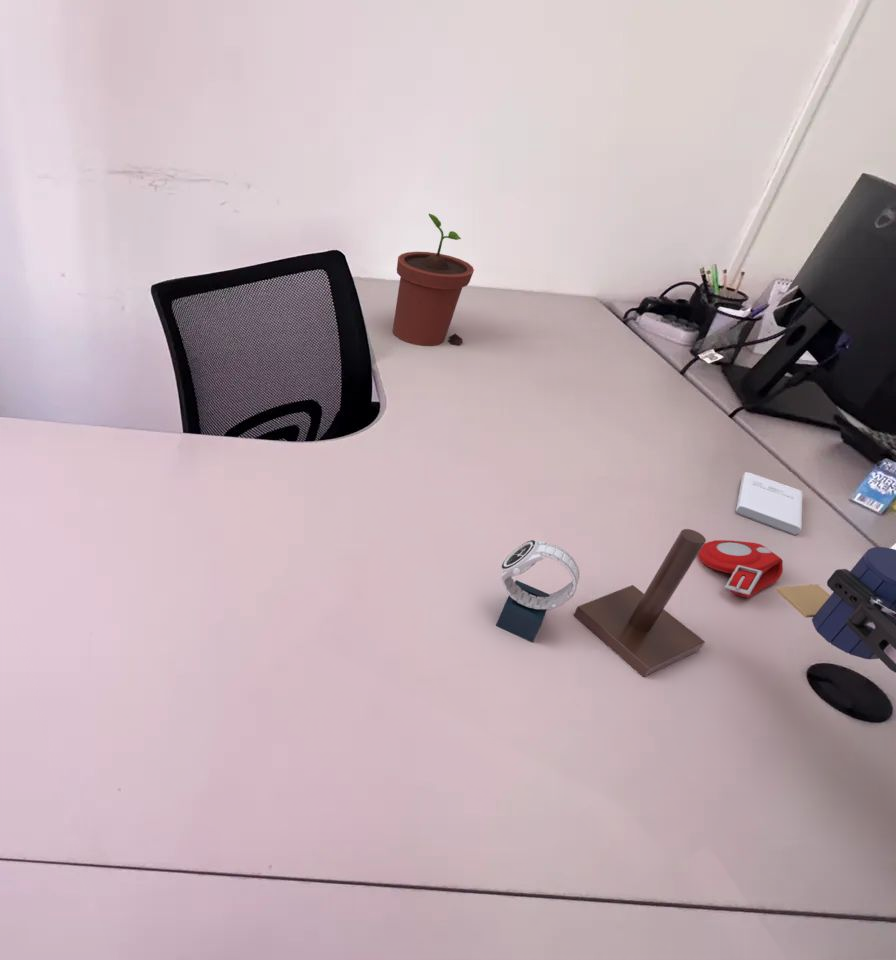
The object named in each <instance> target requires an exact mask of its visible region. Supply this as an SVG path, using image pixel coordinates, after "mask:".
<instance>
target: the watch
mask: <svg viewBox="0 0 896 960" xmlns="http://www.w3.org/2000/svg"><path fill="white" fill-rule="evenodd" d="M544 558H547V559H550V560H552V561H554V562H557V563H558V564H559V565H560V566H562V567H564V569H565V570H566V571H567V573H568V574H569V576H570V578H571V582H568V583H567V585H565V586H563V587H562V588H561V589H559V590H557V591H555V592H552V593H547V592H545V591H542V590H541V589H538V588H535V587H534V586H531V585H528V584H526V583H524V582H522V581H520V580H517V579H515V580H514V577H517V576H520V575H522V574H525V573H526V572H527V571H529V570H530V569H531V568H532V567H533V566H534V565H535V564H536V563H537V562H540V561H542V560H544ZM500 567H501V568H500V569H501V570H502V574H501V576H500V579H501V585H502V587H503V589H504V590H505V593H506V594H507V595H508V596H507V597H506V598H507V599H506V600H505V602H504V605H503V607H502V609H501V611H500V614H499V617H498V619H497V622H496V624H495V626H496V627H498V628H500V629H502V630H505V631H507V632H509V633H511V634H514V635H515V636H517V637H520V638H522V639H524V640H526V641H528V642H531V643H534V641H535V640H536V637H537V635H538V632H539V630H540V628H541V626H542V624H543V621H544V618H545V616H546V613H547V611H551V610H554V609H556V608H558V607H561V606H563V605H564V604H566V603H567V602H569V600H571V599H572V598H573V597H574V596H575V594H576V591H577V587H578V584H579V580H580V570H579V566H578V564H577V562H576V560H575V559H574V558H573V557H572V555H570V553H569V552H567V551H566V550H565V549H563V548H562V547H560V546H558V545H554V544H552V543H549V542H548V541H537V540H536V539H531V540H527V541H526V542H523V543H522V544H521V545H519V546H517V547H516V548H515V549H513V550H512V551H511V553H509V554H508V555H507V557H506V558H505V559H504V560H503V562H502V564H501V566H500ZM512 577H513V578H512Z"/></svg>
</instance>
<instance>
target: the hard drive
mask: <svg viewBox="0 0 896 960" xmlns="http://www.w3.org/2000/svg"><path fill="white" fill-rule="evenodd" d="M735 513H736V514H737V515H739V516H742V517H745V518H746V519H749V520H752V521H755V522H757V523H760V524H763V525H766V526H768V527H772V528H773V529H776V530H780V531H782V532H784V533H787V534H790V535H792V536H798V535H799V533H800V532H801V530H802V524H803V491H802V490H801V489H798V488H795V487H792V486H790V485H786V484H783V483H781V482H777V481H775V480H772V479H770V478H766V477H763V476H761V475H758V474H755V473H752V472H748V471H745V472H744V473H743V474H742V476H741V480H740V486H739V490H738V496H737V502H736V508H735Z"/></svg>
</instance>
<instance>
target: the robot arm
mask: <svg viewBox="0 0 896 960" xmlns="http://www.w3.org/2000/svg"><path fill="white" fill-rule="evenodd" d="M850 571H851V570H849V569H847V568H839V569H835V570H834V572H833V573H832V574H831V575H830V577H829V578H828V580H827V581H826V585H827V588H829V589H830V590H831V591H832V593H833V592H835V593H836V594H837V595H838V596H839V597H840V598H842V599H843V600H844V601H845V602H846V603H847V604H849V605H850V606H851V607H852V608H853V609H854V610H855V612H854V613H853V614H852V615H851V616H850V617H849V618H848V619H847V620H846V621H845V623H846V625H847V626H848V627H849V628H850V629H851V630H852V631H853V632H854V633H855V634H856V635H857V636H858V637H859V638H860V639H861V640H862V641H863V642H864V643H865V644H866V645H867V646H868V647H869V648H870V649H871V650H872V651H873V652H874V654H875V655H876V656H877V657H878V658H879V659H878V660H880V661H881V662H882V663H883V664H884V665H885V666H886V668H887V669H889V670H890V671H892V672H893V673H896V622H895V623H894V624H893V623H892V622H891V621H890V620H889V619H888V618H887V617H886V616H885V615H883V614H882V613H881V611H883V612H885V613H887V614H889V615H891V616H892V617H894V618H895V619H896V605H894V604H892V603H890V602H888V601H887V600H885V599H883V598H881V597H878V596H879V594H877V593H876V592H875V591H873V590H872V589H871V588H869V587H868V586H867V585H866V584H864V583H863V582H862V581H861V580H860V579H859V578H857V577H856V576H855V575H854V574H852V573H851V572H850ZM866 625H868V626H870V627H872V628H873V629H874V630H873V631H871V630H870V629H869V628H868V627H867V626H866Z"/></svg>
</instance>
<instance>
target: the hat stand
mask: <svg viewBox="0 0 896 960" xmlns="http://www.w3.org/2000/svg"><path fill="white" fill-rule="evenodd" d="M706 541H707V540H706V537H705V536H704V535H703V534H702V533H700V532H698V531H696V530H694V529H690V528H683V529H682V530H681V531H680V532H679V534H678V535H677V538H676V539H675V541H674V543H673V544H672V546H671V548H670V549H669V551H668V553H667V554H666V556H665V558H664V560H663V561H662V563H661V564H660V566H659V568H658V570H657V572H656V573H655V574H654V576H653V578H652V580H651V582H650V583H649V585H648V586H647V588H646V590H645V592H643V591H641V590H640V589H639V588H637V587H636V586H635V585H633V584H632V585H629V586H627V587H624V588H621V589H619V590H616V591H614V592H611V593H608V594H606V595H604V596H600V597H598V598H596V599H594V600H590V601H588V602H585V603H583V604H580V605H578V606H577V607H576V609H575V611H574V612H573V616H574V617H575V618H576V619H577V620H579V621H580V622H581V623H582V624H583V625H584V626H585V627H586V628H588V629H589V630H590V631H591V632H592V633H593V634H594V635H596V636H597V637H598V638H599V639H600V640H601V641H602V642H603V643H604V644H605V645H606V646H608V648H610V649H611V648H612V649H611V650H612V651H614V653H616V654H617V655H618V654H619V655H618V656H619V657H620V658H621V659H623V661H625V662H626V663H627V664H628V665H629V666H630V667H631V668H633V669H634V670H635V671H636V672H637V673H638V674H639V675H641V677H643V678H644V677H647V676H648V675H651V674H653V673H655V672H657V671H660V670H661V669H663V668H665V667H667V666H670V665H672V664H674V663H676V662H678V661H680V660H682V659H684V658H686V657H688V656H690V655H692V654H695V653H696V652H699V651H700V650H701V648H702V647H703V646H704V645H705V643H706V641H705V640H703V638H701V637H700V636H698V635H697V634H696V633H695V632H693V631H692V629H690V628H689V627H687V626H686V625H684V624H683V623H682V622H681V621H680V620H678V619H677V618H675V617H674V616H673V615H672V614H670V613H669V612H668V611H666V609H665V608H666V606H667V605H668V603H669V601H670V600H671V599H672V597H673V595H674V593H676V592H675V591H676V590H677V589H678V587H679V585H680V583H682V580H683V579H684V577H685V576H686V574H687V573H688V571H689V569H690V568H691V566H692V565H693V563H694V562H695V559H697V557H698V553H699V552H700V550H701V548H702V547H703V545H704V544H705V543H707V542H706Z"/></svg>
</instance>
